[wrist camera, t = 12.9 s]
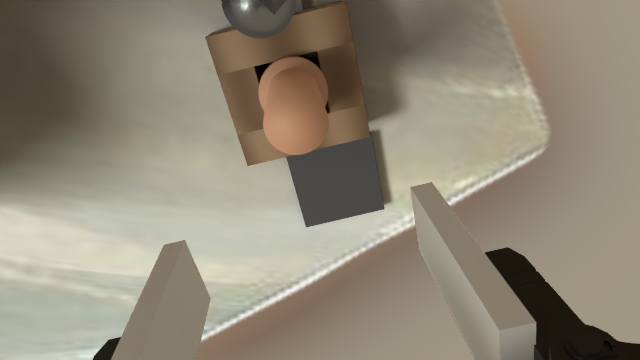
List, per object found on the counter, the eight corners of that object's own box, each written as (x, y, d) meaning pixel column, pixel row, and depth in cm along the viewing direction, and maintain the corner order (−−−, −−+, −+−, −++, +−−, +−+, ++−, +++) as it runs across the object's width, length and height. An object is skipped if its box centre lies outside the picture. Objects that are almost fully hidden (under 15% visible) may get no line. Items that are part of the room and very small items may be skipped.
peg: (271, 116, 42) (265, 174, 29) (253, 57, 39) (239, 91, 26) (328, 103, 41) (348, 154, 29) (315, 42, 39) (330, 69, 26)
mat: (305, 222, 47) (306, 227, 46) (285, 151, 43) (285, 155, 42) (382, 204, 47) (384, 209, 46) (369, 131, 43) (371, 134, 42)
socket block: (250, 150, 43) (234, 228, 29) (195, -22, 36) (140, -25, 22) (363, 123, 43) (400, 190, 29) (330, -55, 36) (358, -80, 22)
